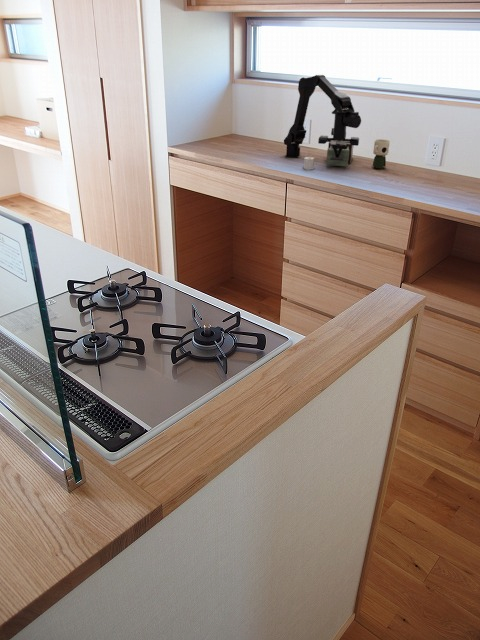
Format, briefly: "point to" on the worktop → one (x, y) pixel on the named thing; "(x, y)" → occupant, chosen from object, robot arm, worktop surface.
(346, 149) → the drawer
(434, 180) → the worktop surface
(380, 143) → the toy figurine
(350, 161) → the cabinet
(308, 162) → the tissue roll
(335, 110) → the robot arm
